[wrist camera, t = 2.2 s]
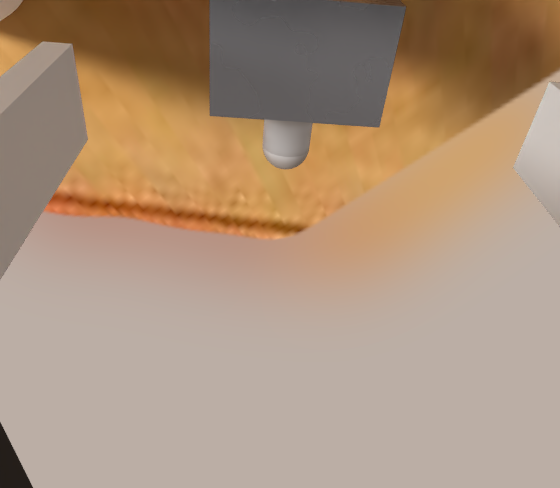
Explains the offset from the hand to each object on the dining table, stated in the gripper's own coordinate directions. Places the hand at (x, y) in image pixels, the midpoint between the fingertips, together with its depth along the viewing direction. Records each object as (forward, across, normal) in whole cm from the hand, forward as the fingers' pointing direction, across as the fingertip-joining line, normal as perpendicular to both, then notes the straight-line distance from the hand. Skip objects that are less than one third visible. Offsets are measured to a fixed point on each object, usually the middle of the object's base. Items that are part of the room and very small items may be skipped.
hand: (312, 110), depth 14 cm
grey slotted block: (+13, 0, 0) cm, 13 cm away
